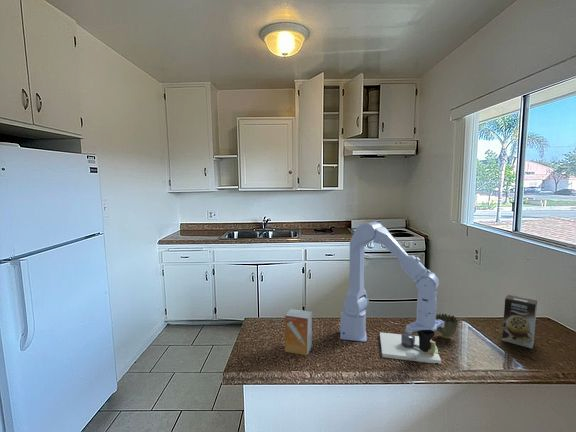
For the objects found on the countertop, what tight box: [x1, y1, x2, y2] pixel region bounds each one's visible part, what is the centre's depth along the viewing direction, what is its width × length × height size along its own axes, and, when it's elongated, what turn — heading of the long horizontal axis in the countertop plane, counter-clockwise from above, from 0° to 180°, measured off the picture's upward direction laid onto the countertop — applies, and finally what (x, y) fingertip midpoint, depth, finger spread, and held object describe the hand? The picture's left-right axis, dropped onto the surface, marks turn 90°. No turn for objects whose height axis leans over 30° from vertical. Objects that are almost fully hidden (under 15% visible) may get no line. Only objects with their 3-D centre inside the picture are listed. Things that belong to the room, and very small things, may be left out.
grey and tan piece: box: [401, 332, 436, 355], centre depth 107 cm, size 11×4×4 cm, turn 43°
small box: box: [284, 308, 313, 356], centre depth 108 cm, size 8×6×13 cm
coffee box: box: [501, 294, 538, 349], centre depth 114 cm, size 9×6×16 cm
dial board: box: [379, 331, 442, 365], centre depth 109 cm, size 19×18×1 cm
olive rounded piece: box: [435, 313, 459, 340], centre depth 117 cm, size 8×7×8 cm
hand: (423, 350), depth 104 cm, fingers closed, pressing on grey and tan piece
